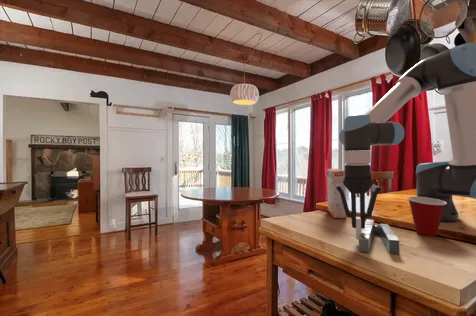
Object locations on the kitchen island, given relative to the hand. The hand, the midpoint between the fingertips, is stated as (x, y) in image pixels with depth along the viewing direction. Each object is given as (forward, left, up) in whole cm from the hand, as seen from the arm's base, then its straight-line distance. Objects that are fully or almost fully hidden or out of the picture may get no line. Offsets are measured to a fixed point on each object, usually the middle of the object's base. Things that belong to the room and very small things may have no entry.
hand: (358, 238), depth 78 cm
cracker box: (+6, -35, -2) cm, 36 cm away
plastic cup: (-23, -16, -2) cm, 28 cm away
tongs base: (-7, -5, -2) cm, 9 cm away
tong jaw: (-3, -4, -2) cm, 5 cm away
